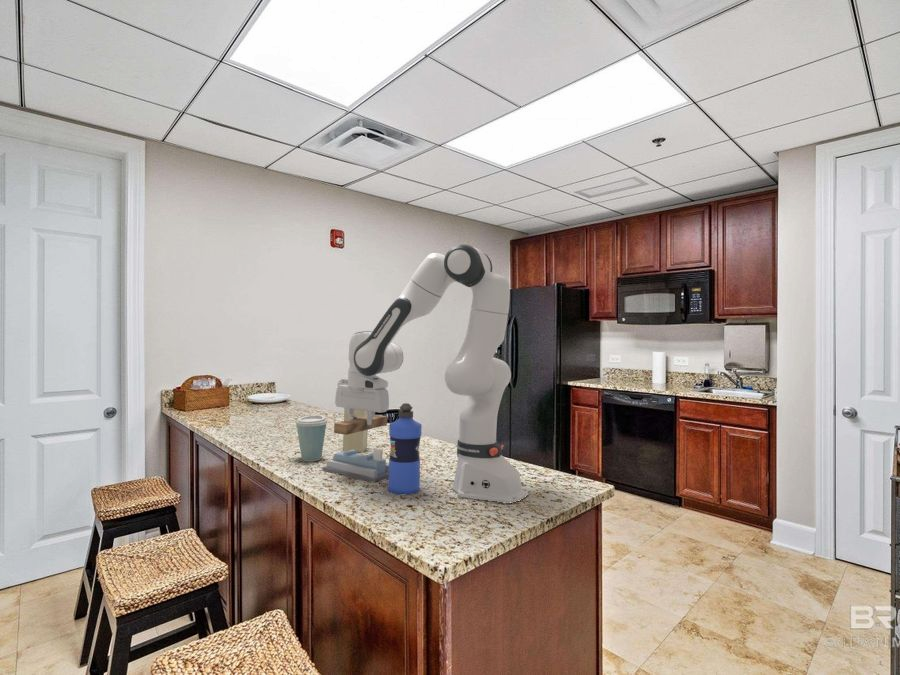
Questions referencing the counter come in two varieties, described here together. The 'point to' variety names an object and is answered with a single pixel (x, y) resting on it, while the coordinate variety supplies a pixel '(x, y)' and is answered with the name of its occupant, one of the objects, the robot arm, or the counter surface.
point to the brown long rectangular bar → (359, 425)
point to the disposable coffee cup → (311, 436)
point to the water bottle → (404, 453)
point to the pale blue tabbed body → (363, 459)
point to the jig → (356, 471)
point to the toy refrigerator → (355, 434)
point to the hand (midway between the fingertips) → (360, 423)
